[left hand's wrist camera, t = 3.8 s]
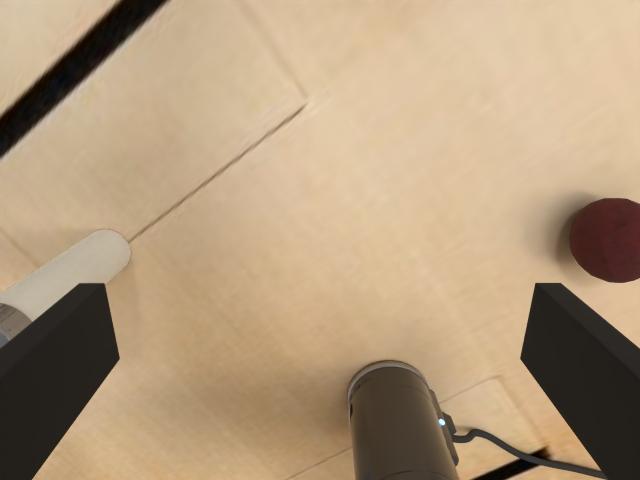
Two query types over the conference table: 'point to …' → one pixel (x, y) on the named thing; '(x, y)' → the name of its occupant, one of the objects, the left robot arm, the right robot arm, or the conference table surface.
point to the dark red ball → (608, 239)
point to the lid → (11, 323)
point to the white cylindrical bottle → (69, 272)
